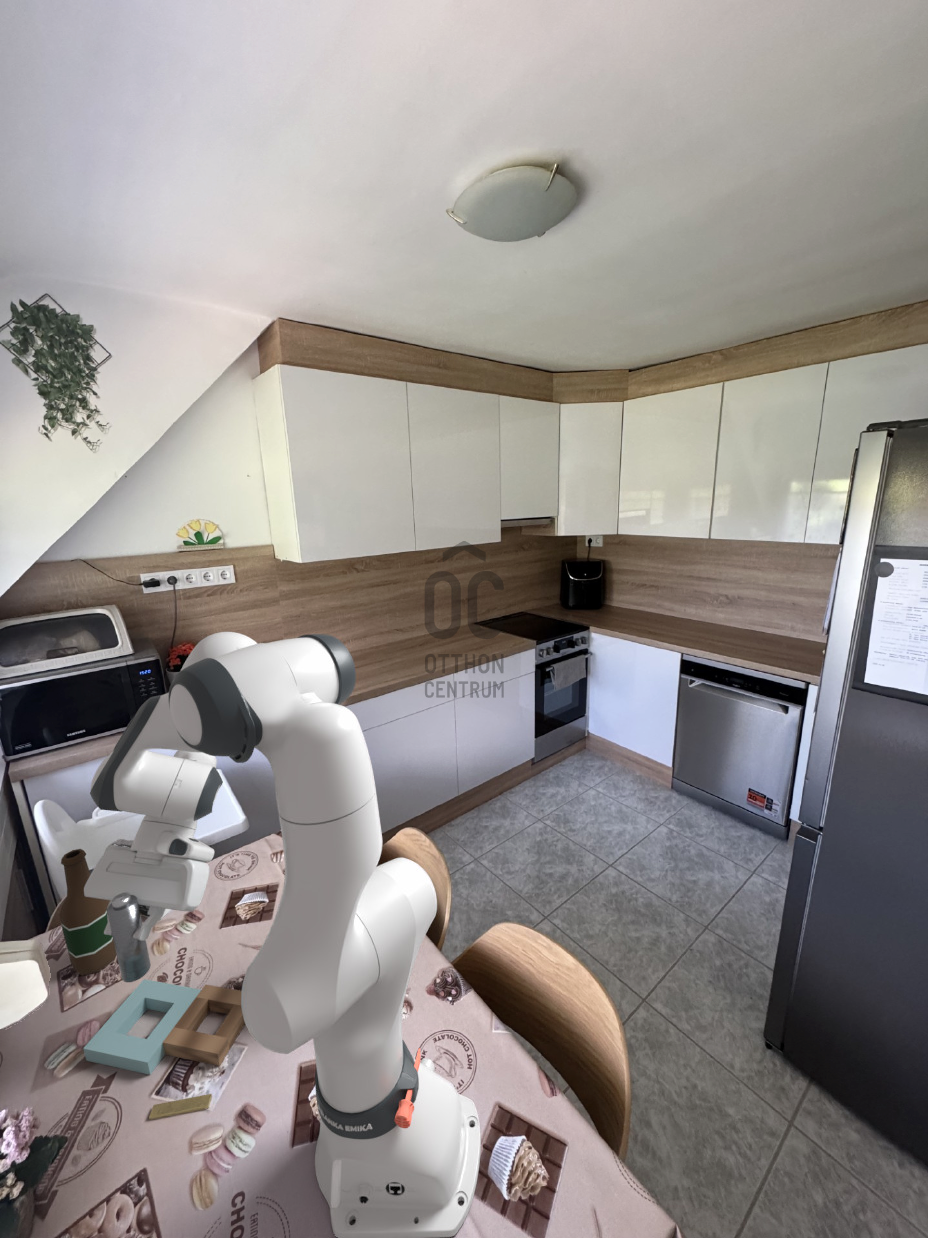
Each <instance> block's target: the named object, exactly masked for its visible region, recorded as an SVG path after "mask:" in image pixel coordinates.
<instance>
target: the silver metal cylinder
mask: <svg viewBox="0 0 928 1238" xmlns="http://www.w3.org/2000/svg"><path fill="white" fill-rule="evenodd" d="M107 914H108V919H109V923H110V928H111V932H112V936H113V941H114V945H115V950H116V954H117V955H116V959H117V962H118V963H117V964H118V967H119V971H120V975H121V980H122V981H123V982H125V983H133V982H136V981H138V980H140V979H141V978H143V977H144V976H145V975H147V973H148V972H149V971H150V969H151V958H150V956H149V955H150V954H149V950H148V945H147V941H146V940H147V939H146V940H136V939H133V934H134V933H135V929H136V927H137V926H142V925H143V921H142V915H140V911H139V906H138V901H137V897H136V896H134V895H130V894H129V893H121V894H119V895H117V896H115V897H114V898H113V899H112V903H111V904H110V905H109V906H108V908H107Z"/></svg>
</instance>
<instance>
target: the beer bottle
mask: <svg viewBox="0 0 928 1238" xmlns="http://www.w3.org/2000/svg"><path fill="white" fill-rule="evenodd" d="M86 855H87V853H86V852H85V850H84V849H83V848H76V849H72V850H70V851H69V852H67V853H64V855H63V856H62V858H60V859H61V860H60V864H61V865H63V869H64V877H65V878H64V879H65V882H66V897H65V900H64V901H63V903H62V904H61V908H60V913H59V920H60V926H61V929H62V930H61V931H62V933H63V937H64V941H65V946H66V948H67V949H66V950H67V952H68V956H69V957H68V958H69V960H70V964H71V967H72V969H73V970H74V971H75V972H77V973H78V974H79V975H81V976H82V977H83V976H88V975H91V974H95V973H99V972H101V971H102V970H103V969H105V968H106V967H107V966H108V965H110V964H111V963H114V961H115V960H116V959H117V954H116V950H115V945H114V941H113V936H112V935H106V934H104V931H105V928H106V926H107V923H108V918H107V907H108V905H109V902H110V900H105V899H98V898H91V897H85V896H84V887H85V885H86V883H87V881H88V879H89V877H90V875H91V871H90V869H89V865H88V862H87V859H86Z"/></svg>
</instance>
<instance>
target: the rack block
mask: <svg viewBox="0 0 928 1238" xmlns="http://www.w3.org/2000/svg"><path fill="white" fill-rule="evenodd" d="M201 990H202V989H201V988H200V989H199V988H194V987H188V986H182V985H178V984H173V983H167V982H162V981H157V980H151V979H143V980H142V981H141V982H140V983H139V984H138V986H137V987H136V988H135V989H134V990H133V991H132V992H131V993H130V995H129V996H128V997H127V998H126V999H125V1000H124V1001H123V1002H122V1004H121V1005H120V1006H119V1007H118V1008H117V1010H115V1011H114V1012H113V1013H112V1015H111V1016H110V1017H109V1019H108V1020H107V1021H106V1022H105V1023H104V1024H103V1026H102V1027H101V1028H100V1029H99V1030H98V1031H97V1032H96V1033H95V1034H94V1035H93V1036H92V1037H91V1039H90V1040H89V1041H88V1043H86V1044H85V1046H84V1047H83V1053H84V1057H85V1060H86V1061H88V1062H92V1063H95V1064H100V1065H103V1066H104V1065H105V1066H110V1067H113V1068H117V1069H118V1068H119V1069H123V1070H127V1071H132V1072H135V1073H141V1074H144V1075H149V1076H150V1075H152V1073H153V1072H154V1070H155V1069H156V1068H157V1067H158V1065H159V1064H160V1062H161V1061H162V1059H163V1058H164V1056H165V1055H166V1054H165V1051H164V1047H163V1041H164V1040H165V1038H166V1037H167V1036H168V1034H169V1033H170V1032H171V1030H172V1029H173V1028H174V1026H175V1025H176V1024H177V1022H178V1021H179V1020H180V1018H181V1017H182V1015H183V1014H184V1013H185V1011H186V1010H187V1009H188V1007H189V1006H190V1005H191V1003H192V1002H193V1001H194V999H195V998H196V997H197V995H198V994H199V993H200V991H201ZM147 1010H152V1011H157V1012H162V1013H166V1014H164V1016H163V1017H162V1018H161V1020H160V1021H159V1022H158V1023H157V1025H156V1026H155V1027H154V1029H152V1032H150V1033H149V1035H148V1037H147V1038H143V1037H139V1036H133V1035H129V1034H128V1033H129V1032H130V1031H131V1029H132V1028H133V1027H134V1026H135V1024H137V1022H138V1021H139V1019H140V1018H141V1017H142V1016H143V1015H144V1013H145V1012H147Z"/></svg>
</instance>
